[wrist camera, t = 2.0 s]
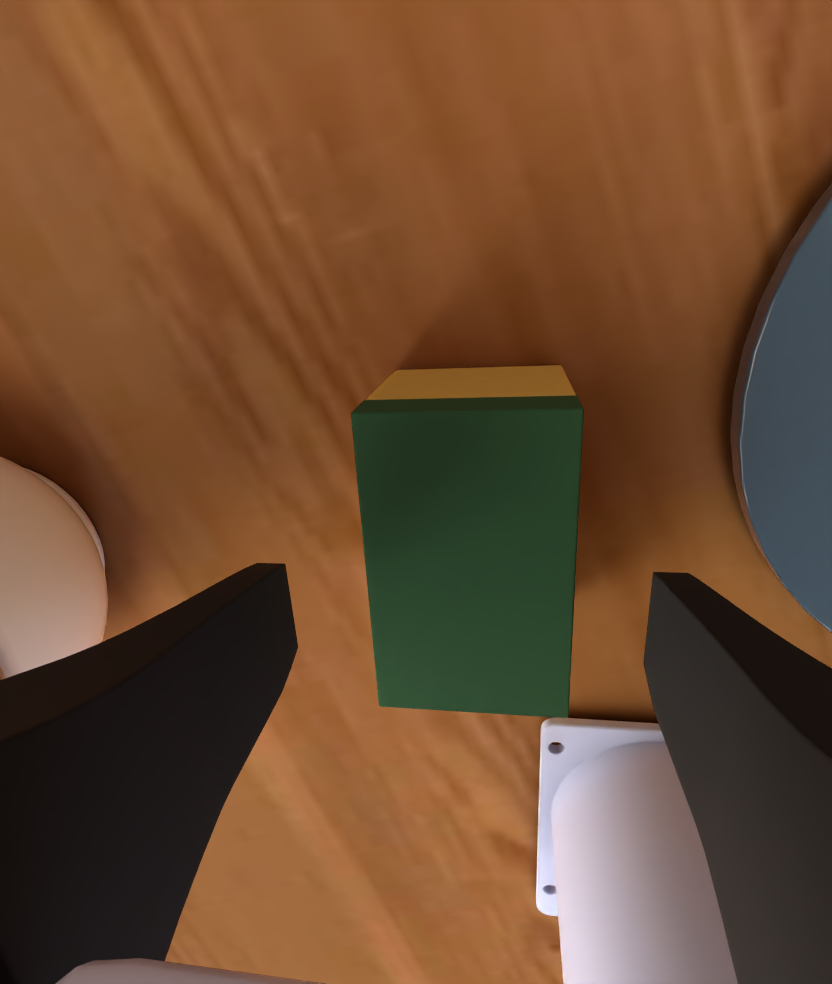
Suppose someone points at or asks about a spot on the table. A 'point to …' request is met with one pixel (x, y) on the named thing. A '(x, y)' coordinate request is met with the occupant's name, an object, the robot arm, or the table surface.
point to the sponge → (471, 536)
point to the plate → (791, 418)
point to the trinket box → (46, 573)
